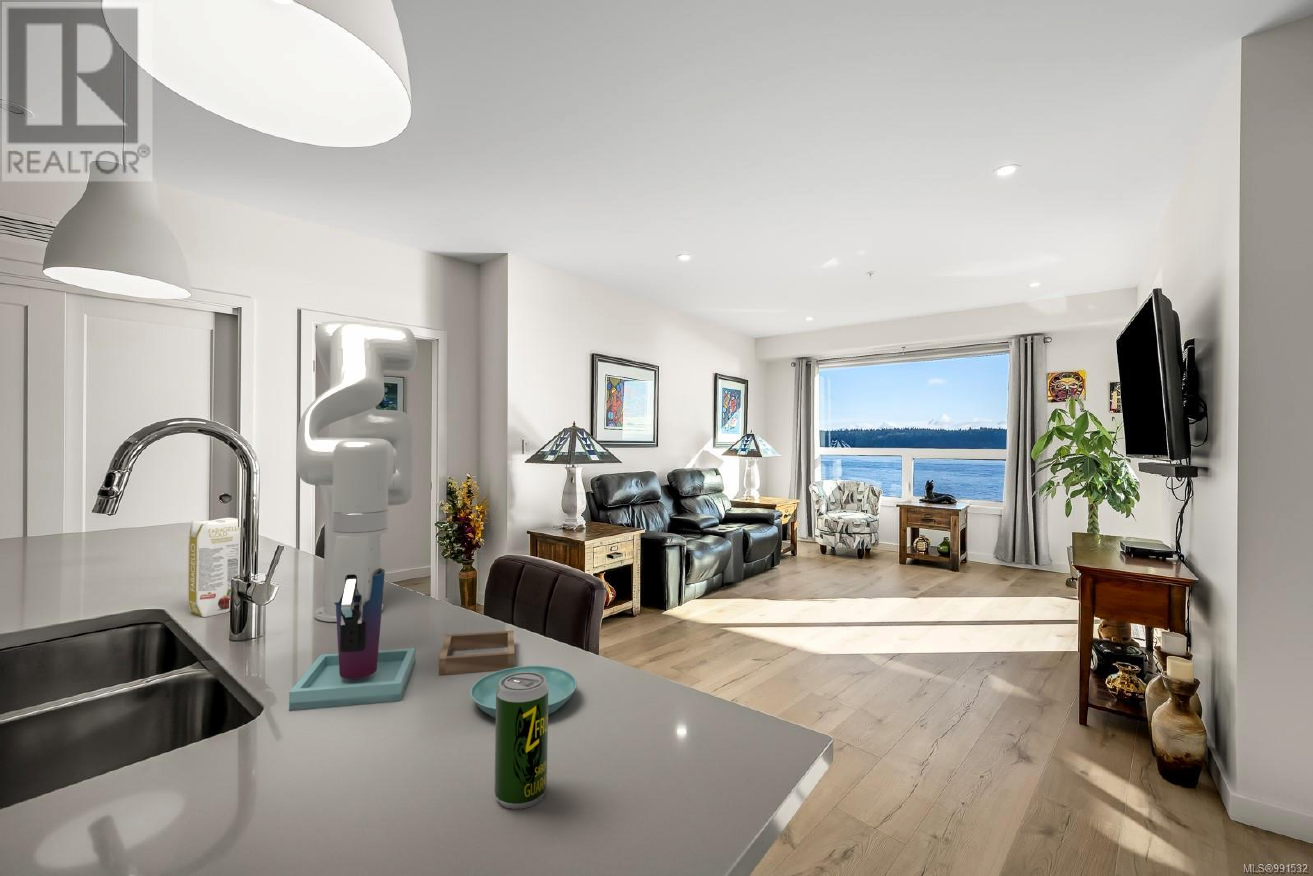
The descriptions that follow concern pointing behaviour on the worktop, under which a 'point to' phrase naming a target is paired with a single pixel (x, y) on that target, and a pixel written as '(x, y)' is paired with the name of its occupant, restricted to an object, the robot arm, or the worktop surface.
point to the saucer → (487, 686)
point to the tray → (353, 682)
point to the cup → (366, 660)
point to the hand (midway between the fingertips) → (358, 641)
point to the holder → (476, 660)
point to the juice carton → (212, 565)
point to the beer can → (521, 739)
